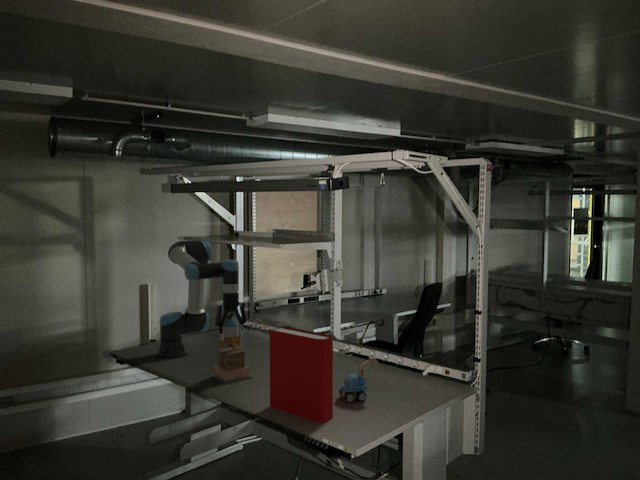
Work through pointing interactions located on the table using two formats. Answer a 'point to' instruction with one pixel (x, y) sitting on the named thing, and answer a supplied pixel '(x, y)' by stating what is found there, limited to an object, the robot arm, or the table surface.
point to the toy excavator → (357, 383)
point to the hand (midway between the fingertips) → (231, 338)
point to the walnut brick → (231, 359)
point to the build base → (231, 374)
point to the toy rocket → (231, 334)
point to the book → (302, 373)
